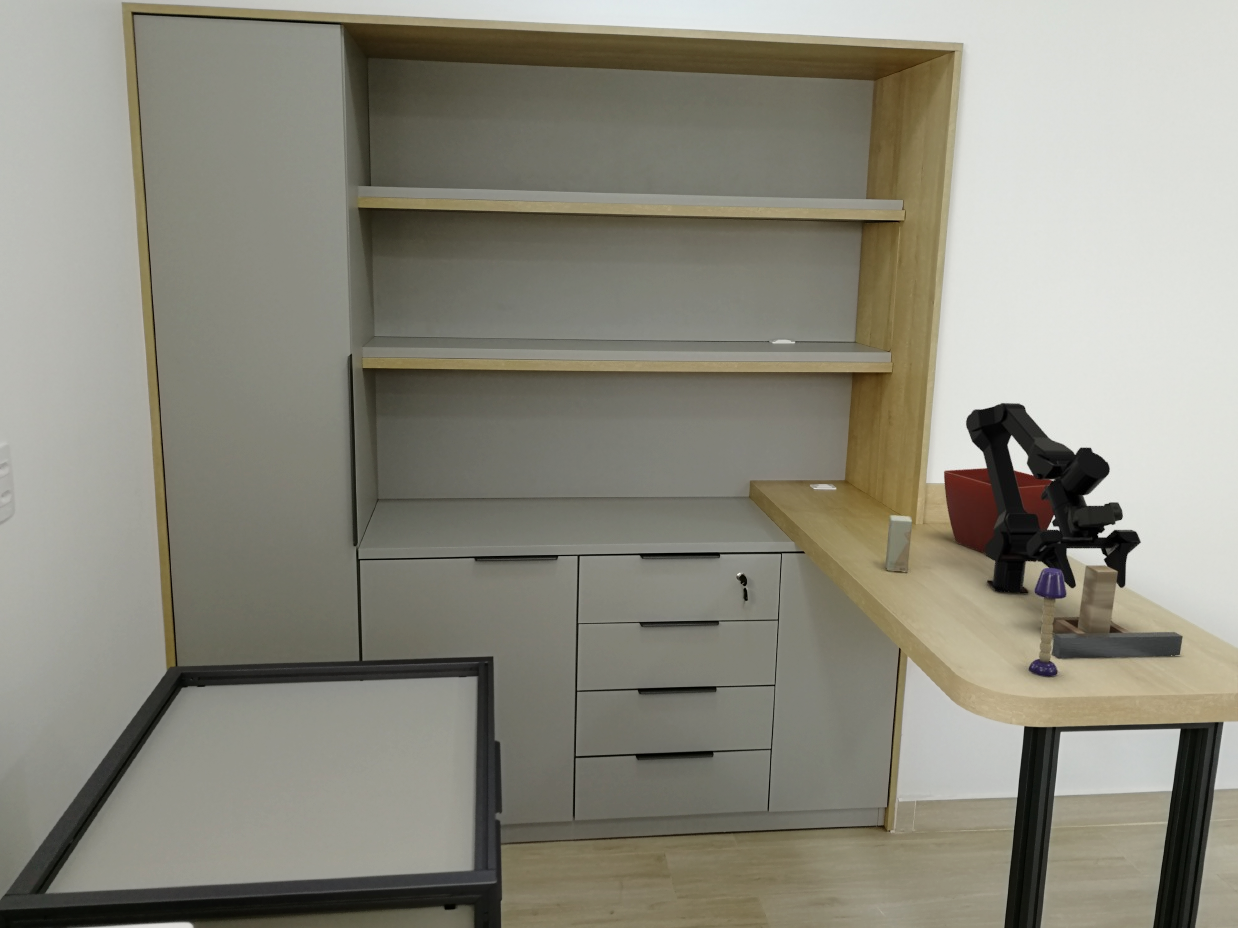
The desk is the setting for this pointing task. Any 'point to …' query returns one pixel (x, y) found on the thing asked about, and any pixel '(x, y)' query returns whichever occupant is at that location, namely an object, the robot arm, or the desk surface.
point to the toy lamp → (1048, 618)
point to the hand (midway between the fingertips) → (1098, 586)
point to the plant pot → (987, 504)
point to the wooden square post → (1097, 599)
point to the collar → (1071, 626)
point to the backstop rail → (1116, 645)
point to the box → (898, 543)
